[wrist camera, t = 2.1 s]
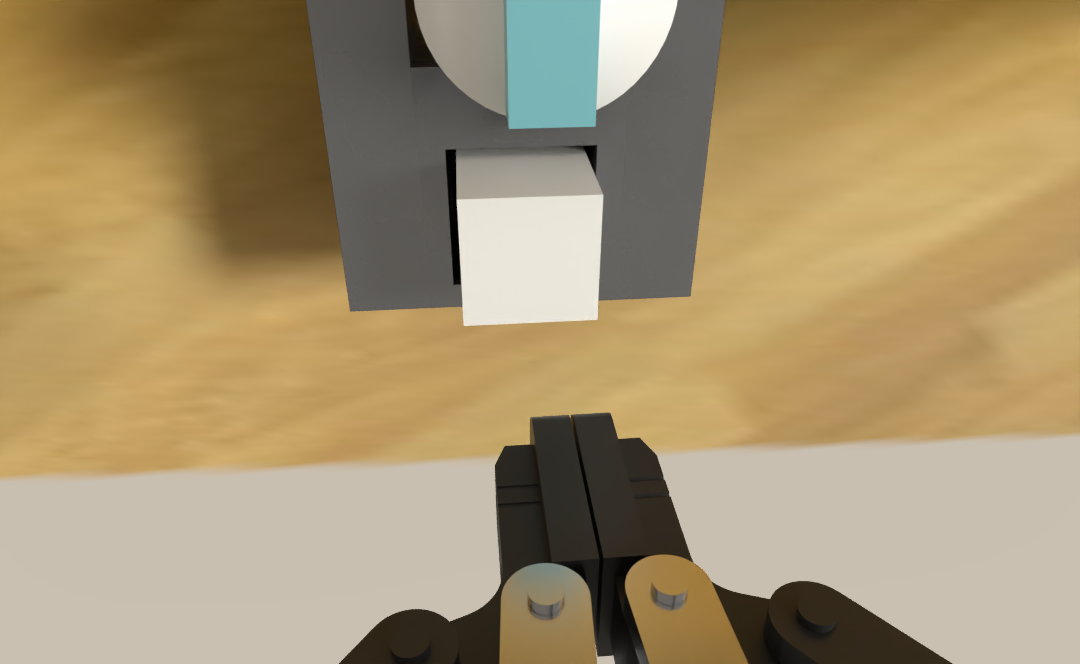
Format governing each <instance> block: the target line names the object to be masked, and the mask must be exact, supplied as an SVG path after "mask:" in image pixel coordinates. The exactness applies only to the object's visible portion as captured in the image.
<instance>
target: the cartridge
mask: <svg viewBox="0 0 1080 664" xmlns="http://www.w3.org/2000/svg"><path fill="white" fill-rule="evenodd" d="M677 1H678V0H414V4H415V11H416V15H417V18H418V22H419V26H420V29H421V32H422V34H423V37H424V39H425V42H426V44H427V46H428V48H429V50H430V52H431V53H432V55H433V57H434V59H435V61H436V62H437V63H438V65H439V66H440V68H441V69H442V70H443V72H444V73H445V74H446V76H447V77H448V78H449V79H450V80H451V81H452V82H453V83H454V84H455V85H456V86H457V87H458V88H459V89H460V90H461V91H463V92H464V93H465V94H466V95H467V96H469V97H470V98H471V99H473V100H474V101H476V102H478V103H479V104H481V105H482V106H484V107H486V108H488V109H490V110H492V111H495V112H497V113H499V114H502V115H505V116H506V117H507V122H508V127H509V129H524V128H562V127H596V110H598V109H600V108H601V107H603V106H605V105H607V104H609V103H611V102H612V101H614V100H615V99H616V98H618V97H619V96H621V95H622V94H624V93H625V92H626V91H627V90H628V89H629V88H630V87H632V86H633V85H634V84H635V83H636V82H637V81H638V80H639V79H640V77H641V76H642V75H643V74H644V73H645V72H646V71H647V69H648V68H649V67H650V65H651V64H652V62H653V61H654V59H655V58H656V57H657V55H658V53H659V51H660V49H661V47H662V46H663V44H664V42H665V40H666V37H667V35H668V32H669V30H670V27H671V25H672V22H673V18H674V14H675V11H676V7H677Z"/></svg>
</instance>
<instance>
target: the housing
mask: <svg viewBox="0 0 1080 664" xmlns="http://www.w3.org/2000/svg"><path fill="white" fill-rule="evenodd" d="M306 4H307V12H308V19H309V26H310V33H311V40H312V47H313V54H314V61H315V68H316V75H317V82H318V89H319V96H320V103H321V110H322V117H323V124H324V131H325V138H326V145H327V152H328V159H329V166H330V173H331V180H332V187H333V194H334V201H335V208H336V215H337V222H338V229H339V236H340V243H341V250H342V257H343V264H344V271H345V278H346V285H347V292H348V299H349V306H350V311H372V310H395V309H417V308H440V307H462V306H463V303H462V285H461V267H460V249H459V231H458V213H457V209H453V199H452V182H451V165H450V149H479V148H514V147H549V146H583V148H584V150H585V152H586V155H587V157H588V159H589V162H590V164H591V167H592V169H593V171H594V174H595V176H596V178H597V181H598V183H599V186H600V188H601V190H602V193H603V212H602V233H601V254H600V275H599V295H598V300H621V299H643V298H666V297H688V296H691V287H692V279H693V270H694V262H695V253H696V245H697V236H698V228H699V220H700V211H701V203H702V194H703V186H704V177H705V169H706V160H707V152H708V143H709V135H710V126H711V118H712V109H713V101H714V92H715V84H716V75H717V67H718V58H719V50H720V41H721V33H722V24H723V16H724V7H725V0H678V1H677V7H676V11H675V14H674V18H673V22H672V25H671V27H670V30H669V32H668V35H667V37H666V40H665V42H664V44H663V46H662V47H661V49H660V51H659V53H658V55H657V57H656V58H655V59H654V61H653V62H652V64H651V65H650V67H649V68H648V69H647V71H646V72H645V73H644V74H643V75H642V76H641V77H640V79H639V80H638V81H637V82H636V83H635V84H634V85H633V86H632V87H630V88H629V89H628V90H627V91H626V92H625V93H624V94H622V95H621V96H619V97H618V98H616V99H615V100H614V101H612V102H611V103H609V104H607V105H605V106H603V107H601V108H600V109H598V110H596V127H562V128H524V129H509V127H508V122H507V117H506V116H505V115H502V114H499V113H497V112H495V111H492V110H490V109H488V108H486V107H484V106H482V105H481V104H479V103H478V102H476V101H474V100H473V99H471V98H470V97H469V96H467V95H466V94H465V93H464V92H463V91H461V90H460V89H459V88H458V87H457V86H456V85H455V84H454V83H453V82H452V81H451V80H450V79H449V78H448V77H447V76H446V74H445V73H444V72H443V70H442V69H441V68H440V66H439V65H438V63H437V62H436V61H435V59H434V57H433V55H432V53H431V52H430V50H429V48H428V46H427V44H426V42H425V39H424V37H423V34H422V32H421V29H420V26H419V23H418V18H417V15H416V11H415V4H414V0H306Z"/></svg>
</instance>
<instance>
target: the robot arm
mask: <svg viewBox="0 0 1080 664" xmlns="http://www.w3.org/2000/svg"><path fill="white" fill-rule="evenodd" d="M495 483H496V510H497V532H498V545H499V561H500V575H501V584H500V586H499V589H498V591H497V592H496V594H495V595H494V596H493V598H492V599H491V600H490V601H489V602H488V603H487V604H486V605H484V606H483V607H482V608H480V609H478V610H477V611H475V612H473V613H471V614H468V615H466V616H463V617H461V618H458V619H456V620H453V621H450V622H449V621H448V620H447V619H446V618H444V617H443V616H441V615H439V614H437V613H435V612H432V611H428V610H422V609H411V610H405V611H401V612H398V613H395V614H393V615H391V616H389V617H387V618H385V619H384V620H382V621H381V622H380V623H379V624H377V625H376V626H375V627H374V628H373V629H372V630H371V631H370V632H369V633H368V634H367V635H366V636H365V637H364V638H363V640H361V642H360V643H359V644H358V645H357V646H356V647H355V648H354V649H353V650H352V651H351V652H350V653H349V654H348V655H347V656H346V657H345V658H344V659H343V660H342V661H341V662H340V663H339V664H597V659H596V650H597V655H598V656H611V655H614V660H615V664H952V663H950V662H949V661H947V660H946V659H944V658H943V657H941V656H939V655H938V654H936V653H934V652H933V651H931V650H930V649H928V648H927V647H925V646H923V645H922V644H920V643H919V642H917V641H916V640H914V639H913V638H911V637H909V636H908V635H906V634H904V633H903V632H901V631H900V630H898V629H897V628H895V627H893V626H892V625H890V624H889V623H887V622H885V621H884V620H882V619H881V618H879V617H878V616H876V615H874V614H873V613H871V612H870V611H868V610H866V609H865V608H863V607H862V606H860V605H859V604H857V603H856V602H854V601H852V600H851V599H849V598H847V597H846V596H844V595H843V594H841V593H840V592H838V591H836V590H834V589H832V588H830V587H828V586H826V585H823V584H819V583H815V582H809V581H798V582H791V583H788V584H785V585H783V586H781V587H780V588H779V589H777V590H776V591H775V592H774V594H773V595H772V597H771V599H766V598H761V597H756V596H750V595H745V594H741V593H736V592H733V591H730V590H727V589H724V588H722V587H720V586H718V585H716V584H714V583H713V582H712V581H711V580H710V578H709V577H708V576H707V574H706V573H705V572H704V571H703V570H702V569H701V568H700V567H699V566H697V565H696V564H695V563H693V561H692V558H691V556H690V553H689V550H688V547H687V544H686V541H685V538H684V535H683V532H682V530H681V527H680V523H679V520H678V518H677V514H676V512H675V508H674V505H673V502H672V500H671V497H669V491H668V488H667V485H666V482H665V480H664V479H663V473H662V470H661V467H660V464H659V461H658V458H657V455H656V454H655V453H654V452H653V451H652V450H651V449H650V448H649V447H648V446H647V445H646V444H645V443H644V442H643V441H642V440H641V439H640V438H628V439H618V437H617V434H616V430H615V427H614V423H613V419H612V416H611V414H610V413H593V414H575V415H571V418H570V417H569V415H561V416H544V417H531V418H530V445H515V446H505V447H504V449H503V451H502V453H501V455H500V456H499V458H498V460H497V462H496V464H495ZM595 644H596V648H595Z"/></svg>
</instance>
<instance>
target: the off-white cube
mask: <svg viewBox="0 0 1080 664" xmlns="http://www.w3.org/2000/svg"><path fill="white" fill-rule="evenodd" d="M456 184H457V213H458V231H459V249H460V267H461V285H462V303H463V321H464V326H472V325H494V324H516V323H537V322H559V321H581V320H597V316H598V295H599V275H600V254H601V233H602V212H603V193H602V190H601V188H600V186H599V183H598V181H597V178H596V176H595V174H594V171H593V169H592V167H591V164H590V162H589V159H588V157H587V155H586V152H585V150H584V148H583V146H549V147H514V148H479V149H456Z"/></svg>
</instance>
